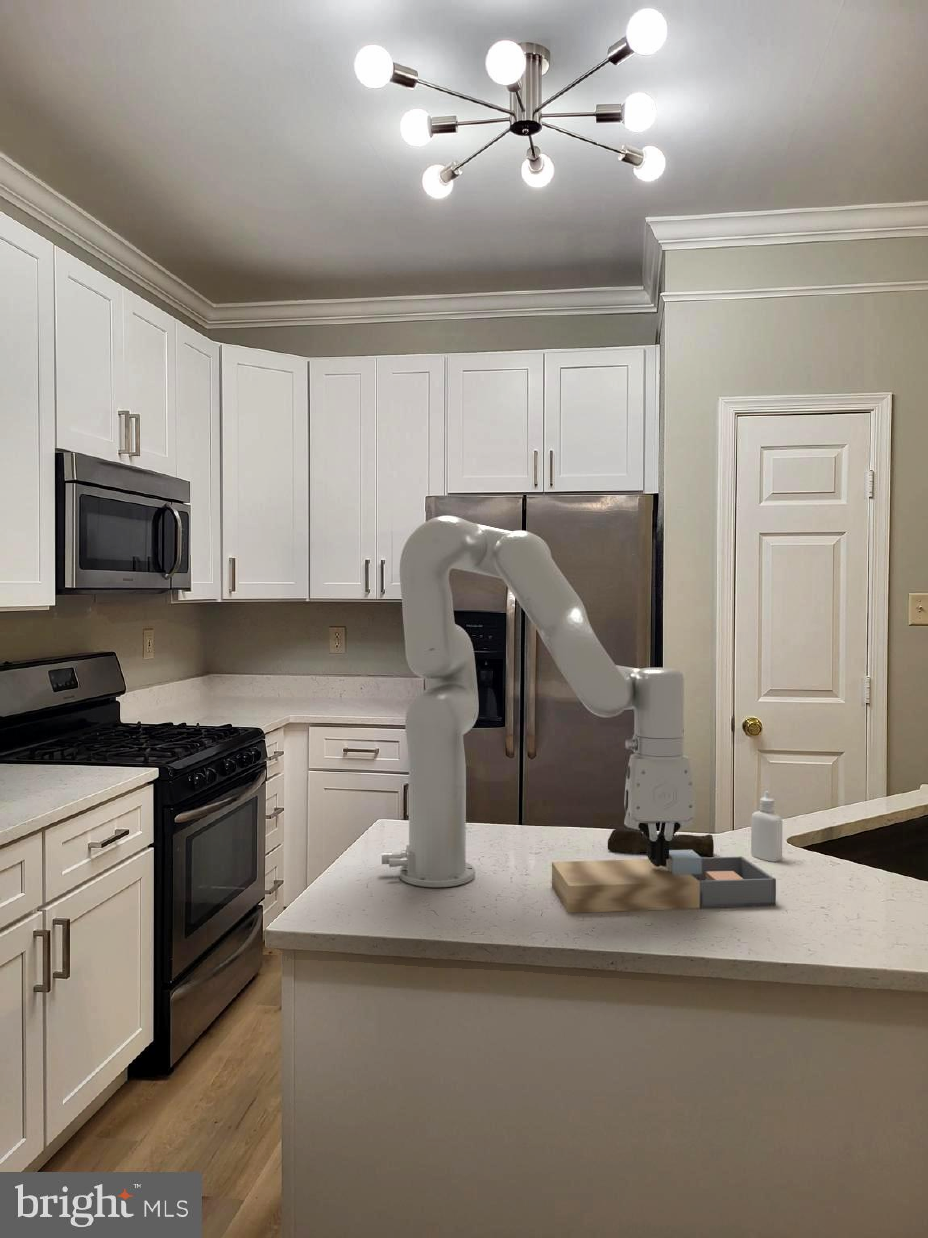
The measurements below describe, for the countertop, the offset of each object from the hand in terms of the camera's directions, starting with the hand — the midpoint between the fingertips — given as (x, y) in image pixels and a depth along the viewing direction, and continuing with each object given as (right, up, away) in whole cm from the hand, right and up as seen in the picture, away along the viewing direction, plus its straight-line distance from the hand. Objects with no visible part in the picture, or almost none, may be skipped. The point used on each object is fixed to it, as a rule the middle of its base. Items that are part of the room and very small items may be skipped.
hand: (658, 864), depth 135 cm
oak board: (-6, -5, -1) cm, 8 cm away
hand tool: (+6, -5, +23) cm, 24 cm away
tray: (+10, -5, +1) cm, 12 cm away
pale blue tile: (+4, -1, 0) cm, 4 cm away
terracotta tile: (+11, -2, +1) cm, 11 cm away
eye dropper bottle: (+24, -5, +21) cm, 32 cm away
